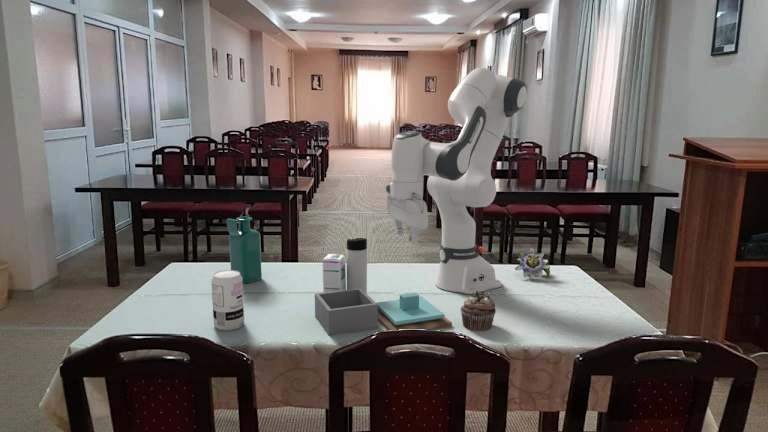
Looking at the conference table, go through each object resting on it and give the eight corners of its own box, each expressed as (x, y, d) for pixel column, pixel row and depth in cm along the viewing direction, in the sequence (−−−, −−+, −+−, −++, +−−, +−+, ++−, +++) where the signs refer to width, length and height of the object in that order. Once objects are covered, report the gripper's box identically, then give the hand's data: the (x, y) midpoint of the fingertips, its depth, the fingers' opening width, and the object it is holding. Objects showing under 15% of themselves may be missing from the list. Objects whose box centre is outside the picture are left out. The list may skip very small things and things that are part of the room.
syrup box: (341, 305, 176) (341, 259, 173) (322, 303, 177) (322, 258, 174) (346, 298, 182) (346, 254, 179) (328, 297, 183) (327, 253, 180)
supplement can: (217, 320, 164) (214, 269, 161) (246, 319, 165) (244, 269, 161) (211, 331, 156) (208, 279, 153) (242, 331, 157) (239, 278, 153)
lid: (421, 302, 176) (421, 284, 174) (444, 320, 162) (445, 300, 161) (375, 309, 170) (375, 289, 169) (395, 328, 157) (395, 307, 155)
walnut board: (423, 304, 178) (423, 300, 177) (451, 326, 161) (451, 322, 161) (369, 311, 171) (369, 307, 171) (392, 335, 155) (392, 331, 155)
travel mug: (352, 304, 177) (352, 241, 173) (343, 297, 183) (343, 236, 178) (370, 301, 180) (370, 239, 175) (361, 294, 185) (361, 234, 181)
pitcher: (247, 273, 205) (245, 213, 200) (264, 278, 200) (262, 216, 195) (225, 280, 197) (222, 218, 192) (242, 285, 192) (239, 221, 187)
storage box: (360, 310, 172) (360, 288, 171) (377, 328, 160) (377, 304, 158) (315, 316, 167) (314, 293, 166) (328, 335, 154) (328, 310, 153)
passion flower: (530, 293, 204) (514, 269, 199) (523, 278, 213) (507, 254, 209) (559, 278, 201) (543, 252, 197) (550, 263, 211) (534, 239, 207)
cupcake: (490, 318, 167) (492, 286, 165) (497, 332, 158) (499, 298, 155) (457, 318, 167) (458, 286, 165) (463, 332, 157) (464, 298, 155)
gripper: (434, 196, 153) (433, 246, 156) (402, 183, 171) (402, 228, 174) (412, 197, 150) (412, 248, 153) (383, 185, 169) (383, 230, 172)
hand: (406, 238), depth 164 cm, fingers open, 8 cm apart
